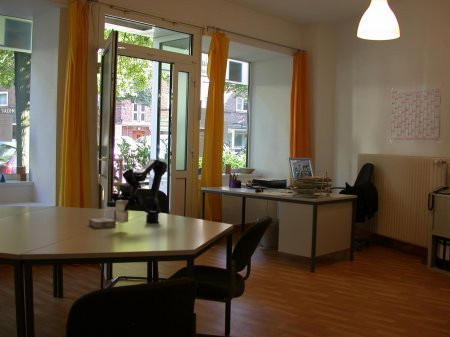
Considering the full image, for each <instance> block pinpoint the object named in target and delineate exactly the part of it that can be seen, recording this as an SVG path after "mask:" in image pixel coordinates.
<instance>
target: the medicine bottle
mask: <svg viewBox="0 0 450 337" xmlns="http://www.w3.org/2000/svg"><path fill="white" fill-rule="evenodd" d="M103 212H104V213H103V214H104V216H103V218H110V219H112V220H115V221H116V203H115V202H114V201H113V200H111V201H110V200H109V201H106V208H105V209H104V210H103Z"/></svg>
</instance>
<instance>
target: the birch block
mask: <svg viewBox="0 0 450 337" xmlns="http://www.w3.org/2000/svg"><path fill="white" fill-rule="evenodd" d="M127 203H128V200H118V201H116V223H118V224H120V223H121V224H125V223H128V222H129V210H130V209H128V210H127V211H124V209H125V207H126V205H127Z"/></svg>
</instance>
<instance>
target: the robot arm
mask: <svg viewBox="0 0 450 337" xmlns="http://www.w3.org/2000/svg"><path fill="white" fill-rule="evenodd" d="M167 169H168V164H167V163H166V162H165V161H161V160H159V159H157V158H150V159H149V161H148V162H147V163H146V164H144V165H143V167H141V168H140V169H136V170H135V171H133V168H129V169H128V170H126V171H124V172H123V174H122V177H123V179H124V181H125V182H126V183H127V184H128V185H125V184H124V185H123V184H122V185H121V184H120V185H119V189H118V191H119V192H120V193H121V195H120V193H117V192H113V193H111V195H110V198H111V200H112V201H114V202H115V203H116V201H118V200H128V203H127V205H126V207H125V209H124V211H127V210H128V209H129V210H130V209H131V208H133V207H136V206H137V205H139V206H140V205H141V206H142V205H143V208H144V213H146V215H145V216H146V219H145V220H146V221H145V222H146V223H147V224H159V223H160V222H159V214H160V213H161V211H162V209H161V207H160V205H159V203H160V202H159V200H158V196H159V192H160V188H161V187H160V186H161V183H162V178H163V176H164V174H166V172H167ZM151 171H153V179H152V183H151V188H150V192H149V196H148V197H145V199H144V200H143V198H142V197H141V194H137V192H138V190H139V189H141V188H142V185H141V183H142V182H143V183H144V182H145V181H146V179H147V178H148V174H149V173H151Z"/></svg>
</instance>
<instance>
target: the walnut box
mask: <svg viewBox="0 0 450 337" xmlns="http://www.w3.org/2000/svg"><path fill="white" fill-rule="evenodd" d="M116 223H117V222H116V221H115V220H112V219H110V218H104V217H103V218H102V217H101V218H89V220H88V226H90V227H92V228H94V229H96V230H97V229H107V228H116V227H117V226H116Z"/></svg>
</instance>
